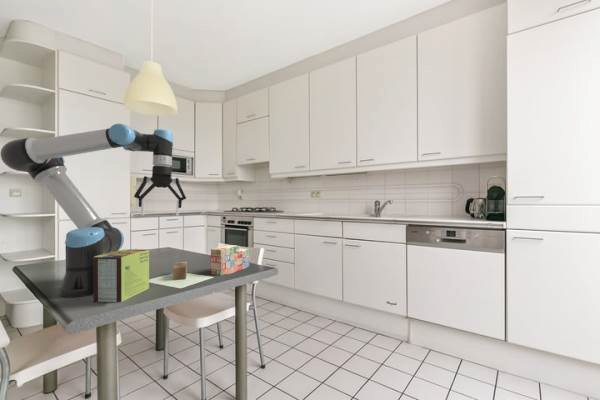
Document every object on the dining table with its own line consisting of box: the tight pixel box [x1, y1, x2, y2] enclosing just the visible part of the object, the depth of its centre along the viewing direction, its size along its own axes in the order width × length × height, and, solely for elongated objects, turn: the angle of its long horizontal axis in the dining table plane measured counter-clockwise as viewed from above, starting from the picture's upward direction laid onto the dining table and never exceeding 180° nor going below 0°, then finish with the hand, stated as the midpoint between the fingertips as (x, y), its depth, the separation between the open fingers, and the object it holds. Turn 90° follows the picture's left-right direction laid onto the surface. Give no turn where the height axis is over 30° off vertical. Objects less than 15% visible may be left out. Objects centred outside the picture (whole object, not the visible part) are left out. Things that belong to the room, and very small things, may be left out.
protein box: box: [92, 248, 150, 304], centre depth 105 cm, size 10×15×16 cm
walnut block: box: [172, 261, 188, 280], centre depth 129 cm, size 5×5×12 cm
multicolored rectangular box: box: [210, 244, 251, 276], centre depth 142 cm, size 21×6×12 cm, turn 154°
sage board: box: [149, 272, 215, 289], centre depth 125 cm, size 22×18×1 cm
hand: (160, 215), depth 127 cm, fingers open, 13 cm apart
